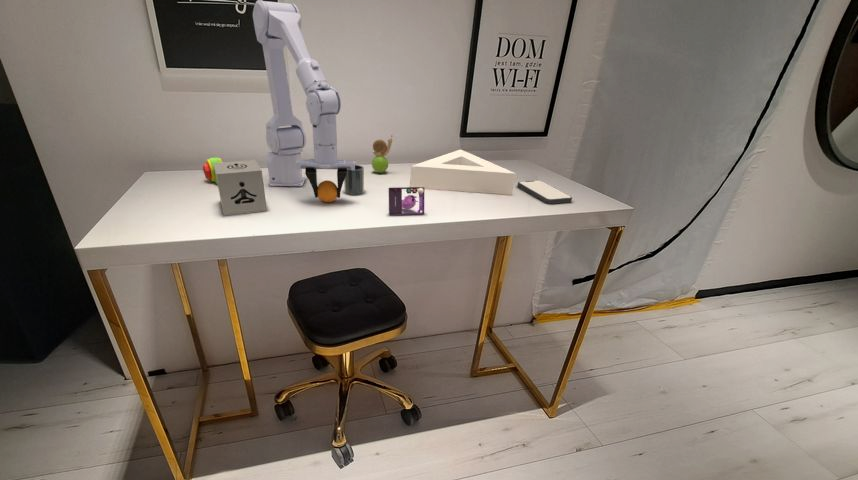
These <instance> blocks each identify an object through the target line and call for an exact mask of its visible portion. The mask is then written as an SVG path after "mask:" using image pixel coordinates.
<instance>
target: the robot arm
mask: <svg viewBox="0 0 858 480" xmlns="http://www.w3.org/2000/svg"><path fill="white" fill-rule="evenodd" d="M252 20H253V27H254V32H255V36H256V41H257V42H258V43H259V44H261V46H262V51H263V57H264V63H265V64H264V65H265V69H266V75H267V83H268V87H269V88H268V89H269V93H270V99H271V105H272V111H273V116H272V117H271V118H270V119H269V120H268V121H267V122H266V123H265V132H266V133H265V140H266V144H267V147H268V149H270V151H268V152H267V154H266V165H267V171H268V179H269V180H268V181H269V186H270V187H303V186H304V183H305V180H306V178H307V180H308V181H309V184H310V185H311V188H312V191H313V194H314V198H315V199H316V198H318V199H319V197H318V195H317V187H318V174H317V173H318V170H336V179H337V181H336V182H337V188H338V190H337V198H338V199H340V198H341V193H342V188H343V184H344V180H345V177H346V175H347V170H355V165H356V161H355V160H345V159H338V137H337V134H338V133H337V115H338V114H339V113H340V111H341V108H342V107H341V106H342V102H341V97H340V94H339V92H338V90H337V89H336V88H335V87H333V86H332V85H331V84H328V81H327V79H326V77H325V75H324V73H323V71H322V69H321V66H320V63H319V62H318V61H317V60H316V59H312V58H311V55H310V52H309V50H308V47H307V45H306V41H305V38H304V36H303V33H302V31H301V29H302V15H301V13H300V11H299V8H298V6H297V5H296V4H295V3H293V2H289V3H286V2H277V1H266V0H256V2H255V4H254V6H253V10H252ZM285 46H286V47H287V49H288V51H289V52H290V54H291V56H292V58H293V60H294V62H295V64H296V67H295V74H296V77H297V78H298V81H299V83H300V85H301V87H302V89H303V92H304V94H305V95H306V101H305V106H306V110H307V113H308V115H309V116H308V118H309V122H310V124H311V125H312V126H311V127H312V142H313V158H310V159H302V154H301V153H303V151H304V148H305V146H306V143H307V135H306V132H305V130H304V127H303V121H301V120H300V118H297V117H296V116H295V115H294V114H293V106H292V100H291V93H290V87H289V86H290V85H289V79H288V74H287V73H288V72H287V67H286V58H285V52H284V49H285ZM303 170H305V171H304V174H305V176H303ZM337 198H336V199H337Z"/></svg>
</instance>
